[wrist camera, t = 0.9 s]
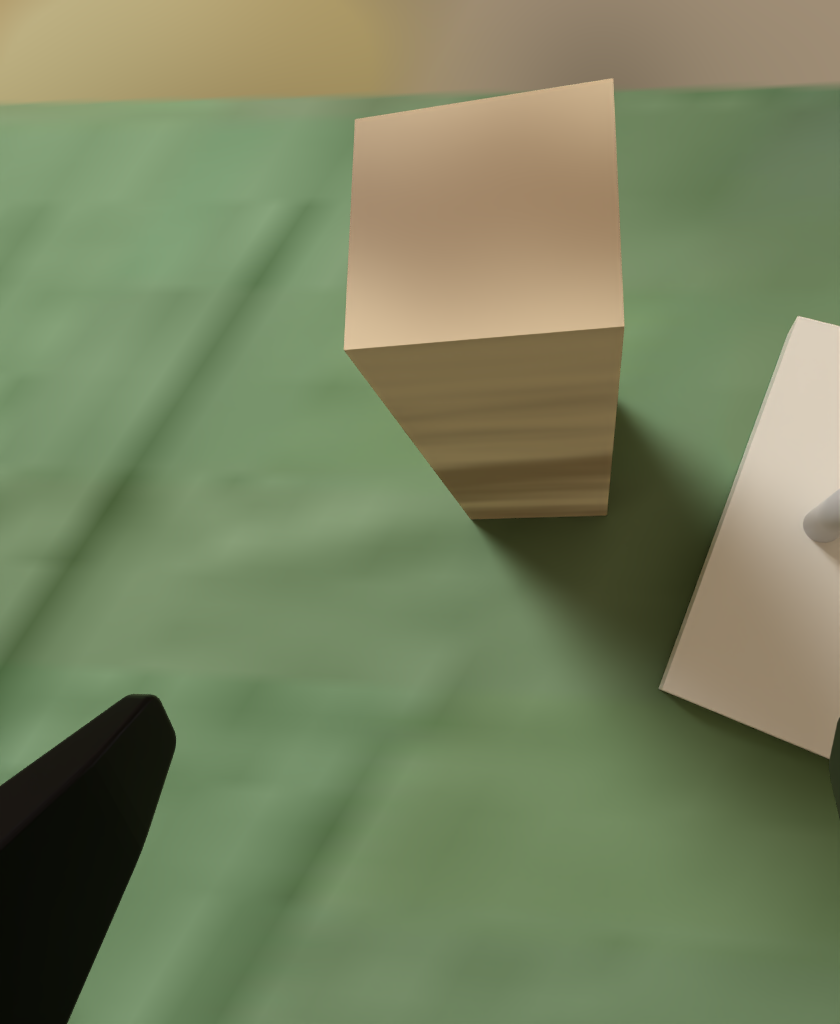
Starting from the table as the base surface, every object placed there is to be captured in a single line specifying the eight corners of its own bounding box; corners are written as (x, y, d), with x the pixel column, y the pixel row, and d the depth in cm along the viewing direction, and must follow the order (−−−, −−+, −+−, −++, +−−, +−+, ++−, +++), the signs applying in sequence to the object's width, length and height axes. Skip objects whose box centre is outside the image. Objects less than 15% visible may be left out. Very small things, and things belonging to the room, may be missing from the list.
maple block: (606, 515, 23) (624, 326, 11) (470, 519, 24) (343, 349, 12) (601, 387, 24) (613, 77, 12) (471, 395, 25) (355, 119, 13)
